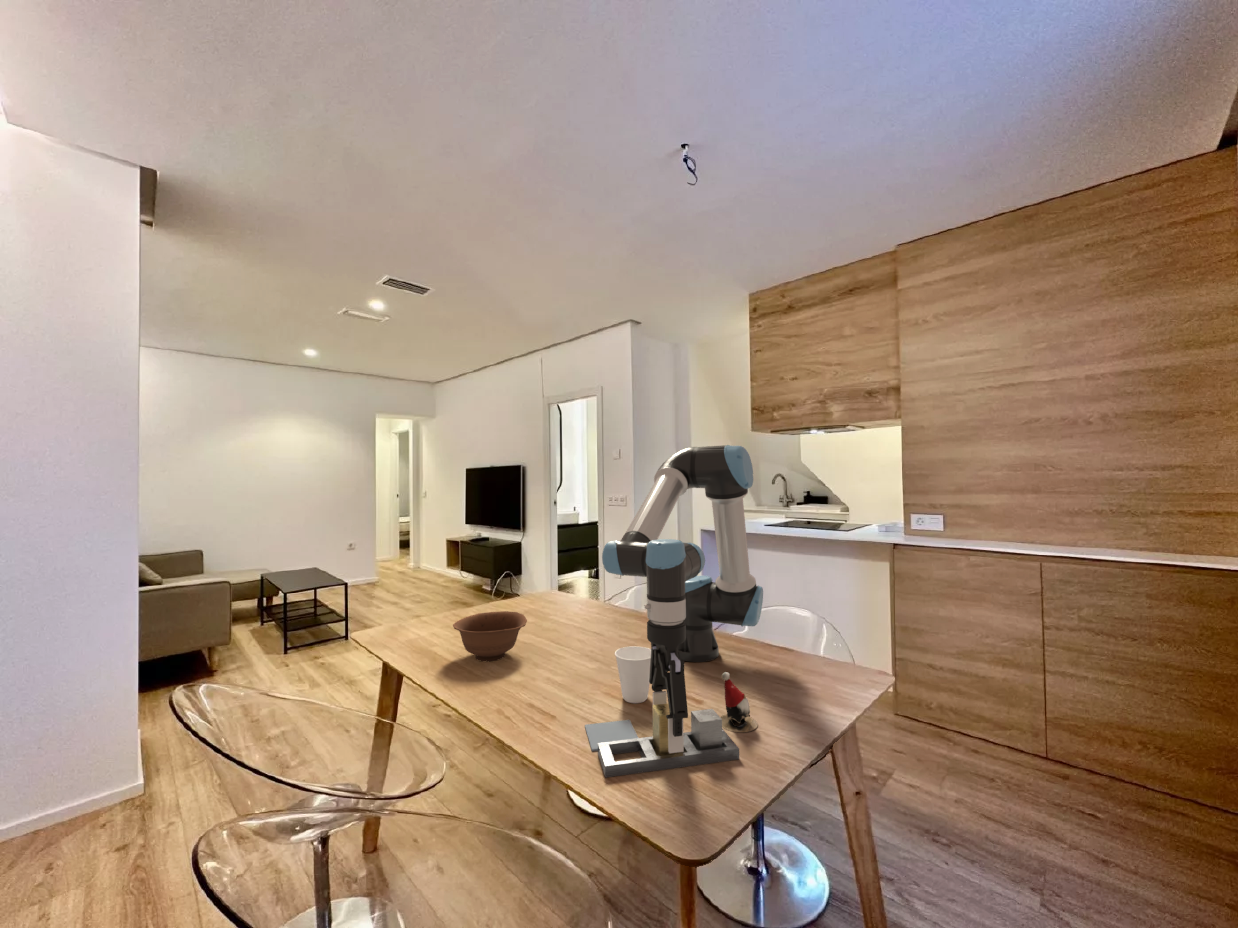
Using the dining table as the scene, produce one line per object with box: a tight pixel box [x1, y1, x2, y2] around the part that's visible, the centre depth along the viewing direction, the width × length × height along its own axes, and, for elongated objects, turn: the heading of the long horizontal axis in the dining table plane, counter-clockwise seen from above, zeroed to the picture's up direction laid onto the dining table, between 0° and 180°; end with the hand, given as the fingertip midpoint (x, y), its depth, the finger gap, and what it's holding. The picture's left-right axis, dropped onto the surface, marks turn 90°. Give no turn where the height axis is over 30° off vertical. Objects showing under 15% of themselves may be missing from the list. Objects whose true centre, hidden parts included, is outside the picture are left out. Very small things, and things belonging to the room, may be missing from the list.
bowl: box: [452, 610, 528, 663], centre depth 150 cm, size 22×22×11 cm
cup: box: [614, 645, 651, 704], centre depth 120 cm, size 10×10×11 cm
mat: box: [584, 719, 639, 752], centre depth 102 cm, size 10×10×1 cm
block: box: [690, 708, 723, 751], centre depth 96 cm, size 5×5×7 cm
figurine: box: [719, 671, 759, 734], centre depth 107 cm, size 8×10×12 cm
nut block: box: [651, 702, 683, 756], centre depth 95 cm, size 5×5×9 cm
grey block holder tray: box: [597, 728, 740, 778], centre depth 94 cm, size 26×8×2 cm, turn 102°
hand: (667, 737), depth 95 cm, fingers open, 9 cm apart
